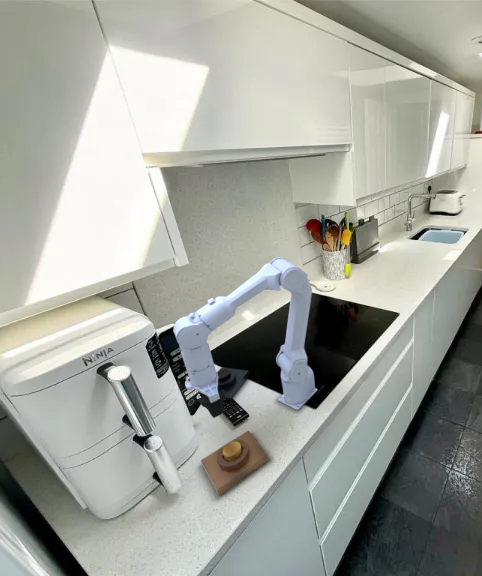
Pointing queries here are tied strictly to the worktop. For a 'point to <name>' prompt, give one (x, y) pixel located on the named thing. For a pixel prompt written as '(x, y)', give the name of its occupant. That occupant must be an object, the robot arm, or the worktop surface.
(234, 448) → the brass button
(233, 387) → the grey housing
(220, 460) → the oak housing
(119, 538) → the worktop surface
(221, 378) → the black button
